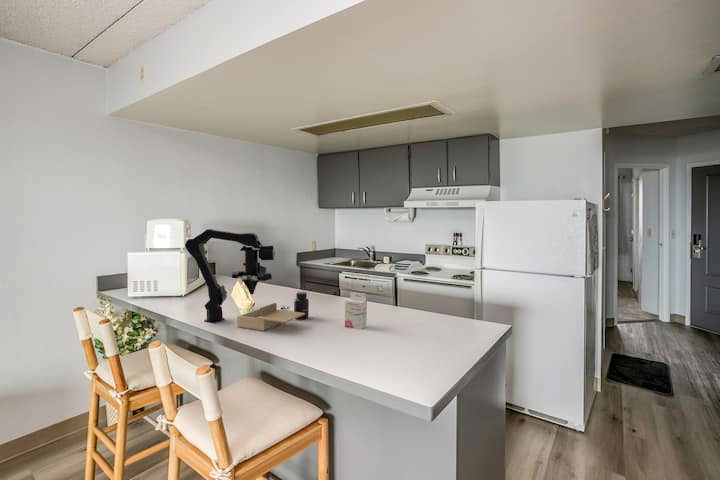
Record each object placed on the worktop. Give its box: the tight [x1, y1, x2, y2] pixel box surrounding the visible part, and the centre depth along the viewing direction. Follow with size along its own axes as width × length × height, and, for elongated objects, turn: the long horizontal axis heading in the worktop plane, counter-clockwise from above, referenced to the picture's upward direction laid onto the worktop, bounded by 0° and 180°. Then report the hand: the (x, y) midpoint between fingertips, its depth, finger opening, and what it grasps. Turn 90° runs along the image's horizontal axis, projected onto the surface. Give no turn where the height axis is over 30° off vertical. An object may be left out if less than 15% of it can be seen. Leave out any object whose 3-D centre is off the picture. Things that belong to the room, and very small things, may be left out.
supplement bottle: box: [293, 291, 310, 321], centre depth 176 cm, size 7×7×12 cm
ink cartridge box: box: [344, 291, 368, 330], centre depth 162 cm, size 9×5×15 cm, turn 65°
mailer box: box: [236, 308, 283, 333], centre depth 164 cm, size 14×14×5 cm
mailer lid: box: [256, 302, 305, 324], centre depth 160 cm, size 15×15×4 cm
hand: (251, 294), depth 172 cm, fingers closed
